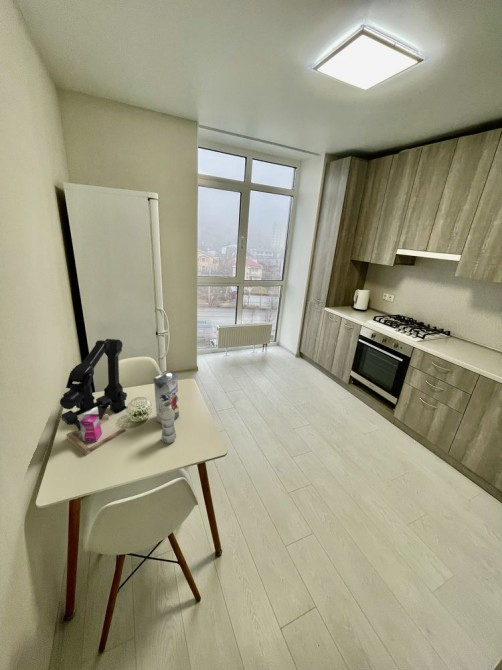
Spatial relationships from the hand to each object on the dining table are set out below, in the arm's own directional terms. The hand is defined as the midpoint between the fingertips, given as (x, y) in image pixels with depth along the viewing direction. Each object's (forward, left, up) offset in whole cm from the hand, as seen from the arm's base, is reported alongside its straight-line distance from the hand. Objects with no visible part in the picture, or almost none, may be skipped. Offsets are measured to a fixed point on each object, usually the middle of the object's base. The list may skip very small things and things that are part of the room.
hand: (90, 424), depth 119 cm
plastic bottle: (-19, +29, -8) cm, 36 cm away
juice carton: (-29, +17, -8) cm, 35 cm away
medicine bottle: (-5, -13, -8) cm, 16 cm away
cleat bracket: (-3, 0, -8) cm, 8 cm away
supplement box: (0, 0, -8) cm, 8 cm away
